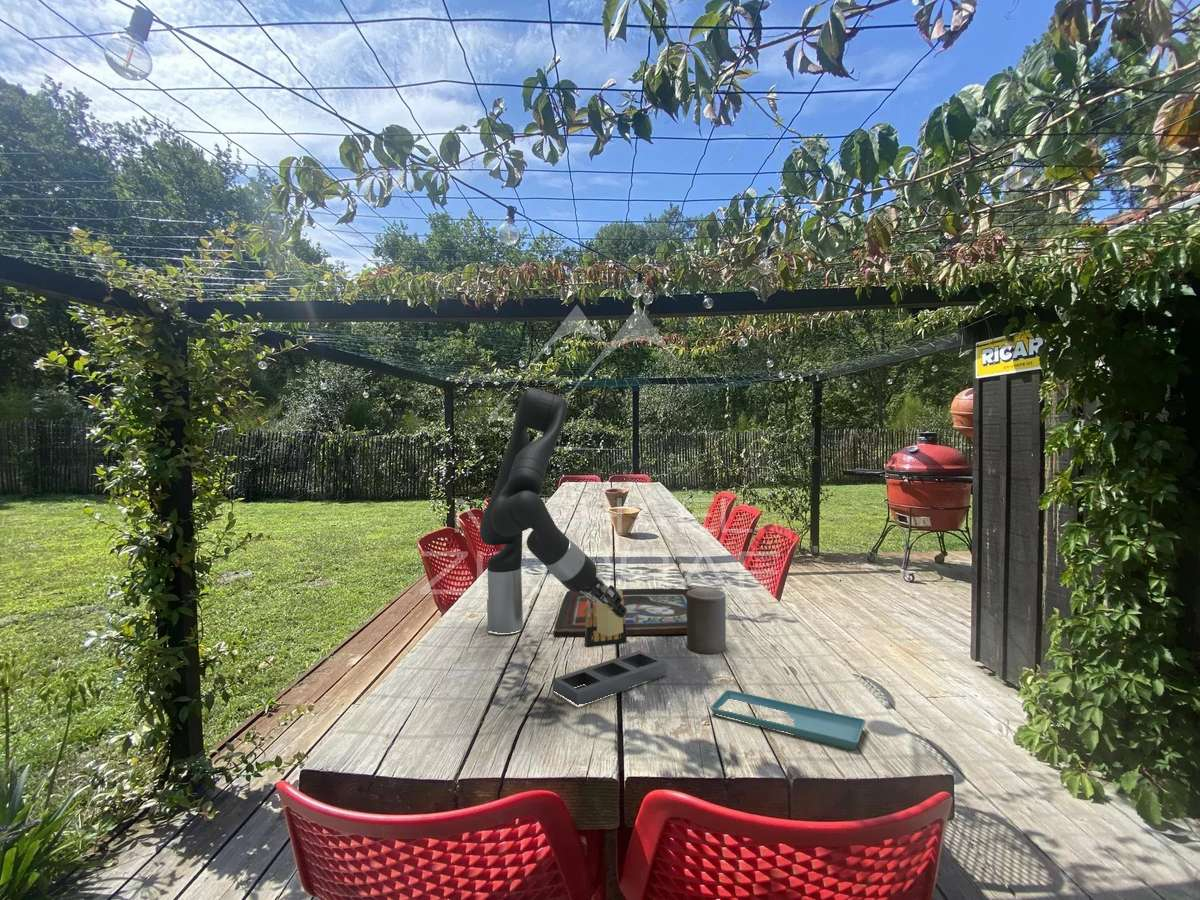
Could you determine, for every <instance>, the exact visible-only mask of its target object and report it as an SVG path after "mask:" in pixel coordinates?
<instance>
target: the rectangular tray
mask: <svg viewBox="0 0 1200 900" xmlns="http://www.w3.org/2000/svg"><path fill="white" fill-rule="evenodd" d="M728 699H733V700H738V701H742V702H747V703H750V704H755V705H759V706H760V705H761V706H764V707H768V708H772V709H776V710H780V711H784V712H787V713H785V714H787V715H789V716H790V717H791V719H792V718H793V719H794V721H793V723H794V722H795V723H794V725H795V726H794V725H793V726H794V727H793V726H789V725H784V724H780V723H776V722H772V721H767V720H763V719H759V718H754V717H750V716H746V715H742V714H737V713H733V712H729V711H724V710H719V709H718V708H719V707H720V706H722V705H723V704H724V703H725V702H726V701H727V700H728ZM710 710H711V712H712V713H713V714H714V715H715V714H718V715H722V716H726V717H730V718H734V719H738V720H741V721H744V722H748V723H751V724H755V725H759V726H763V727H766V728H770V729H775V730H779V731H784V732H788V733H791V734H794V735H796V736H799V737H798V738H800V737H802V738H801V739H804V738H805V740H808V739H809V740H808V741H813V742H817V743H821V744H823V745H824V744H825V745H828V746H833V747H836V748H840V749H844V750H849V751H854V750H855V749H856V747H857V746H858V743H859V742H860V738H861V735H862V732H863V729H864V727H865V725H866V722H867V721H866V719H864V718H860V717H855V716H850V715H845V714H841V713H838V712H833V711H827V710H822V709H819V708H813V707H809V706H804V705H799V704H794V703H790V702H788V701H787V702H786V701H782V700H778V699H777V700H776V699H772V698H768V697H763V696H760V695H759V696H758V695H754V694H749V693H745V692H740V691H735V690H731V689H726V690H724V692H723V693H721V695H720V696H719V697H718V698H717V699H716V701H715V702H713V703H712V705H710ZM793 719H792V720H793ZM796 736H795V737H796Z"/></svg>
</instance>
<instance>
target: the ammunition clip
mask: <svg viewBox="0 0 1200 900" xmlns="http://www.w3.org/2000/svg"><path fill="white" fill-rule="evenodd" d="M623 606H624V601H623ZM621 643H622V644H627V643H628V639H627V635H626V624H625V615H624V617H623V633H619V634H616V635H613V636H609V637H608V636H606V635H603V634H601V633H599V632H597V605H596V603H594V602H593V613H592V616H591V608H590V602H589V600H588V599H587V602H586V615H585V637H584V646H585V648H593V647H600V646H601V647H602V646H603V647H604V646H609V645H610V646H613V645H621Z"/></svg>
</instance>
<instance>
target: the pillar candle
mask: <svg viewBox="0 0 1200 900" xmlns="http://www.w3.org/2000/svg"><path fill="white" fill-rule="evenodd" d="M726 597H727V593H725V592H724V591H722V590H719V589H715V588H707V587H701V588H699V587H698V588H696V589H691V590H689V591H688V592H687V634H686V649H688V650H689V651H691V652H692V653H696V654H701V655H717V654H721V653H723V652H725V651H726V649H725V648H727V646H726V645H727V643H726V636H727V635H726V634H727V633H726V632H727V630H726V629H727V626H726V625H727V622H726V621H727V619H726V609H727V608H726Z"/></svg>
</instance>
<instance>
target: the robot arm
mask: <svg viewBox="0 0 1200 900" xmlns="http://www.w3.org/2000/svg"><path fill="white" fill-rule="evenodd" d="M568 408H569V407H568V401H567V399H566V398H564V397H562V396H560V395H557V394H554V393H551V392H548V391H545V390H541V389H538V388H535V387H528V388H526V389H525V390H524V391H523V393H522V395H521V396H520V399H519V402H518V405H517V410H516V413H515V418H514V421H513V426H512V430H511V435H510V438H509V442H508V445H507V448H506V450H505V452H504V456H503V459H502V462H501V464H500V467H499V470H498V474H497V477H496V482H495V485H494V488H493V491H492V494H491V496H490V499H489V501H488V503H487V505H486V507H485V510H484V512H483V514H482V517H481V519H480V524H479V534H480V535H479V536H480V538H481V541H482V542H483V543H484V545H487V546H499V545H504V548H502V550H501V551H499V552H498V553H496V554H494V555H493V556H491V557H489V558H488V559H487V562H486V563H487V564H486V565H487V593H488V594H487V595H488V596H487V599H486V610H487V613H486V615H487V616H486V619H487V632H488V631H492V632H497V633H511V632H516V631H519V630H521V629H522V628H523V629H524V618H523V616H524V615H523V584H522V580H523V579H522V559H523V532H524V531H527V530H529V529H532V531H531V532H530V533H529V534H528V537H527V538H526V547H527V548H528V551H529V552H531V554H533V556H535V557H536V559H538V561H540V562H541V563H542V564H543V565H544V566H545V568H546V569H547V570H548V571H549V573H550V574H552V575H553V577H555V578H556V580H558V581H559V582H560V583H561V584H562V585H563V586H564V587H565V588H566V589H567V590H568V591H571V592H580V593H581V594H582V595H583V596H585V597H586V598H587V599H588V600H592V601H593V602H594V603H596V600H597V601H598V602H600V603H601V604H606V605H607V606H608V607H609V608H610V609H612V610H613V611H614V612H615V613H616V614H617V615H618V616H619V617H621V618H623V617H624V615H625V613H626V612H627V609H626V608H625V607H624V606H623V605H622V604H621V601H622V600H623V599H622V598H621V596H620V595H619V594H618V592H617V591H616V589H617V588H616V587H615V586H613V585H609V586H608V585H607V584H606V583H605V582H604V580H603V579H602V578H600V577H598V576H597V571H598V568H597V565H596V563H594V561H593V560H592V559H591V558H590V557H589V556H588V555H586V553H585V552H584V551H583V550H582V549H581V548H580V547H579V546H578V545H577V544H576V543H574V541H572V540H570V539H569V537H567V536H566V534H564V533H563V532H562V531H561V529H559V528H558V526H557V525H556V523H555V520H554V519H553V518H552V515H551V514H550V512H549V510H548V508H547V506H546V504H545V502H544V501H543V499H542V498H541V496H539V495H540V493H541V492H542V489H543V487H544V482H545V479H546V474H547V469H548V467H549V463H550V460H551V457H552V455H553V453H554V451H555V449H556V445H557V443H558V441H559V438H560V435H561V433H562V430H563V427H564V424H565V421H566V417H567V413H568ZM528 429H531V430H534V431H537V432H540V433H542V434H543V433H544V434H543V435H541V436H540V437H539V438H537V439H536V440H534V441H532V442H531V441H530V438H529V433H528ZM603 594H604V596H603ZM602 596H603V597H602ZM601 597H602V599H601Z"/></svg>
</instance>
